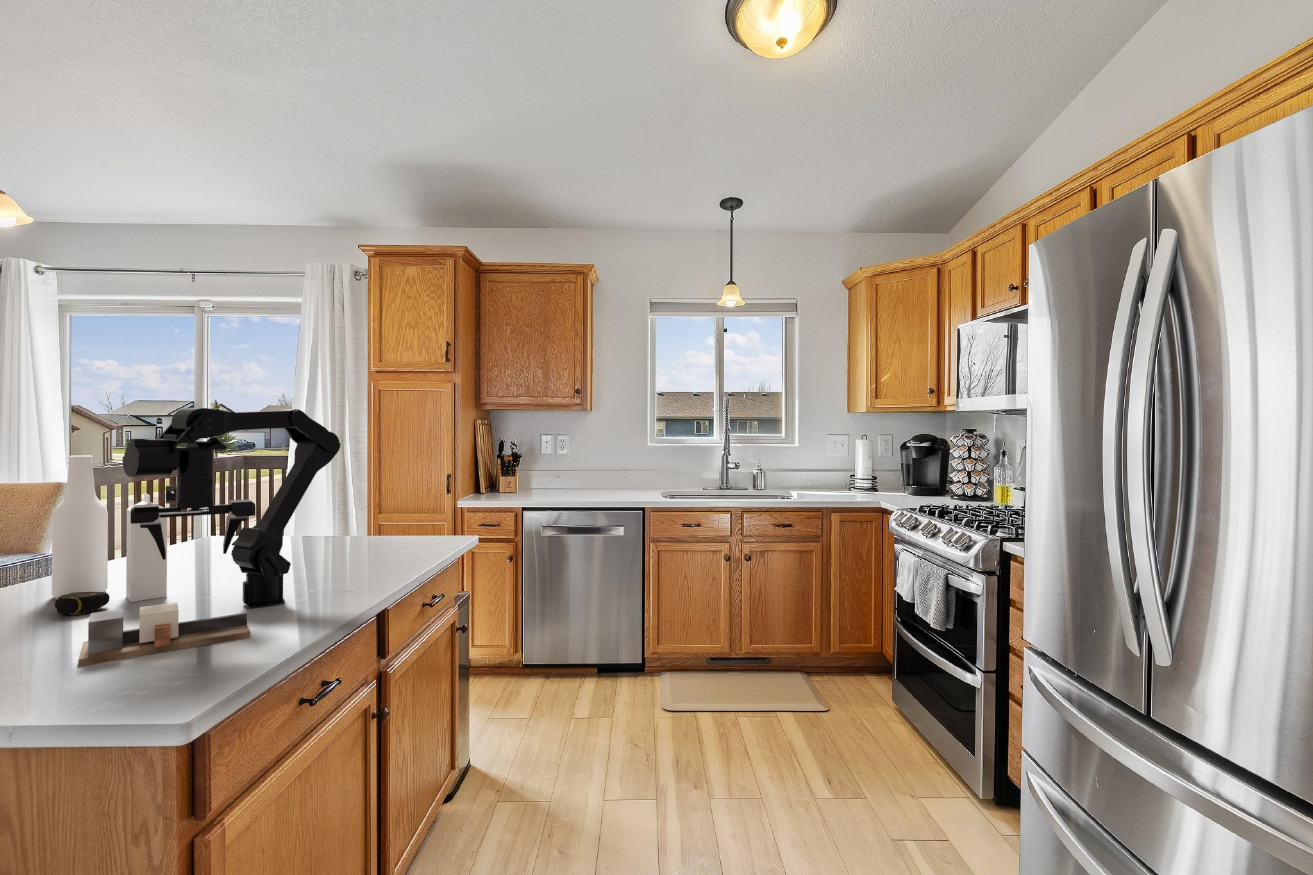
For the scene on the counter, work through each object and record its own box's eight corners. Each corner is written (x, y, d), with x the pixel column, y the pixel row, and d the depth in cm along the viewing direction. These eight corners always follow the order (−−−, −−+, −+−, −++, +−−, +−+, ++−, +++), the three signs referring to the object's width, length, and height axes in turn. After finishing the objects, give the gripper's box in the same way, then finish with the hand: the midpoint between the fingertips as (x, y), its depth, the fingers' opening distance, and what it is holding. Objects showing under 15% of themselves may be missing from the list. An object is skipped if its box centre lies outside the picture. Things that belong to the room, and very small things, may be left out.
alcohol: (97, 587, 139) (98, 454, 139) (114, 593, 135) (115, 455, 134) (44, 596, 131) (45, 455, 131) (60, 602, 127) (61, 456, 127)
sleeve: (177, 628, 108) (177, 602, 108) (178, 636, 103) (178, 609, 103) (139, 634, 104) (139, 607, 104) (139, 643, 100) (139, 614, 100)
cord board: (243, 622, 116) (243, 590, 116) (250, 637, 108) (250, 602, 108) (83, 647, 102) (83, 611, 102) (78, 666, 94) (78, 626, 94)
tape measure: (111, 607, 125) (111, 589, 125) (87, 617, 118) (87, 597, 118) (72, 608, 124) (72, 590, 124) (45, 618, 117) (45, 599, 117)
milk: (130, 602, 128) (130, 496, 128) (126, 596, 132) (125, 493, 132) (167, 596, 133) (167, 494, 132) (162, 591, 137) (161, 491, 136)
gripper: (248, 470, 129) (248, 544, 129) (131, 473, 117) (131, 555, 117) (256, 473, 121) (255, 553, 121) (130, 477, 109) (130, 565, 109)
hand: (195, 556), depth 117 cm, fingers open, 9 cm apart
